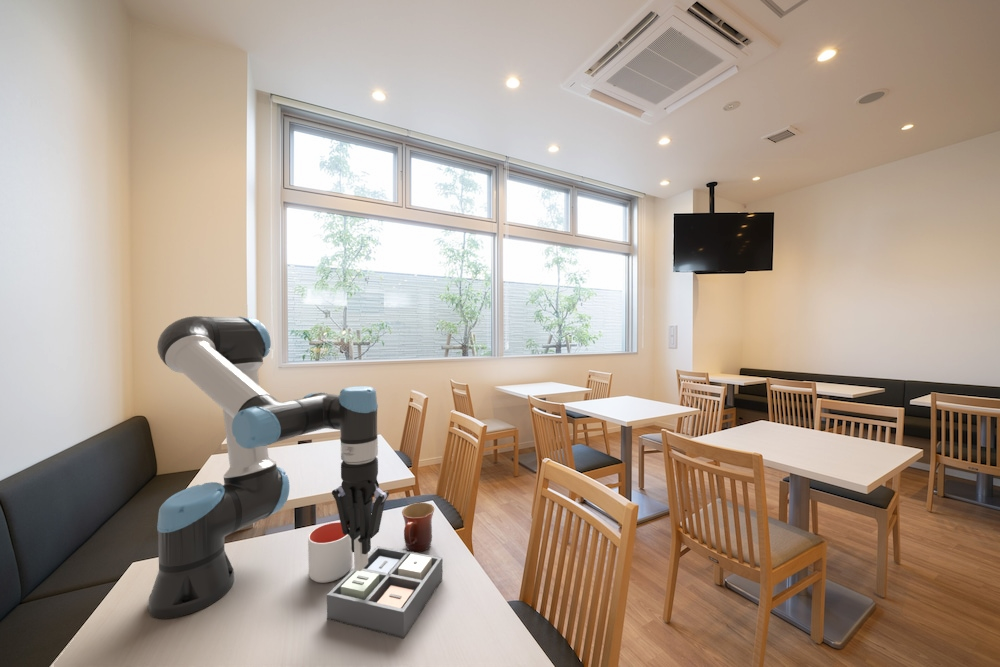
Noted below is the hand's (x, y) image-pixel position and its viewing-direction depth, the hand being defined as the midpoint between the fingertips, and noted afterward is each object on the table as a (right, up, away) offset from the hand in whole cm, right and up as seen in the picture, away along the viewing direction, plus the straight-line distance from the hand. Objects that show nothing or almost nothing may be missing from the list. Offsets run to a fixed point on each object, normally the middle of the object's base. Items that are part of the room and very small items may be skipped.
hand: (361, 566), depth 81 cm
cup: (-12, -9, +12) cm, 19 cm away
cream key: (+10, -6, +6) cm, 14 cm away
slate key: (+2, -8, +8) cm, 12 cm away
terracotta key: (+8, -8, -2) cm, 12 cm away
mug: (+7, -9, +21) cm, 24 cm away
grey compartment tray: (+5, -9, +3) cm, 11 cm away
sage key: (0, -6, 0) cm, 6 cm away
